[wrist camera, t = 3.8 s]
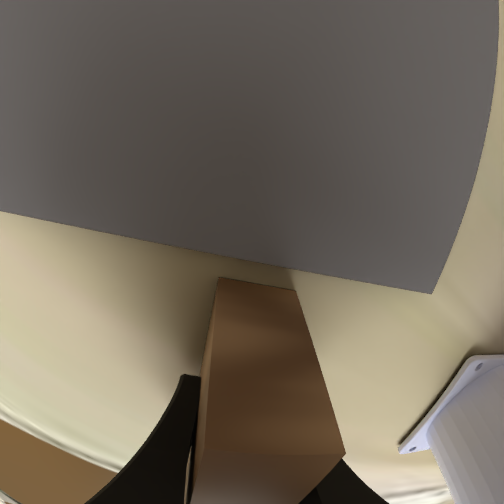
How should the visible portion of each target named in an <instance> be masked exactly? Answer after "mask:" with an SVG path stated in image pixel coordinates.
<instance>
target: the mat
mask: <svg viewBox="0 0 504 504" xmlns="http://www.w3.org/2000/svg"><path fill="white" fill-rule="evenodd" d="M498 33H499V1H498V0H0V211H3V212H7V213H12V214H17V215H22V216H27V217H31V218H36V219H41V220H46V221H51V222H56V223H60V224H65V225H70V226H75V227H80V228H85V229H90V230H95V231H100V232H105V233H110V234H115V235H120V236H125V237H130V238H135V239H140V240H145V241H150V242H155V243H160V244H165V245H170V246H175V247H180V248H186V249H191V250H196V251H201V252H206V253H211V254H217V255H222V256H227V257H232V258H237V259H243V260H248V261H253V262H258V263H264V264H269V265H274V266H280V267H285V268H290V269H296V270H301V271H306V272H312V273H317V274H322V275H328V276H333V277H339V278H344V279H350V280H355V281H361V282H366V283H372V284H377V285H383V286H388V287H394V288H399V289H405V290H411V291H416V292H422V293H427V294H432V292H433V290H434V288H435V286H436V284H437V282H438V279H439V277H440V275H441V272H442V270H443V268H444V265H445V263H446V261H447V258H448V256H449V253H450V251H451V248H452V246H453V243H454V241H455V238H456V235H457V233H458V230H459V227H460V224H461V222H462V219H463V216H464V213H465V210H466V207H467V204H468V201H469V197H470V194H471V191H472V188H473V184H474V181H475V177H476V174H477V170H478V166H479V162H480V158H481V154H482V150H483V146H484V141H485V137H486V132H487V127H488V122H489V116H490V111H491V105H492V98H493V91H494V84H495V75H496V65H497V53H498Z"/></svg>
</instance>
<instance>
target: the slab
mask: <svg viewBox="0 0 504 504" xmlns="http://www.w3.org/2000/svg"><path fill="white" fill-rule="evenodd" d="M200 377H201V389H200V401H199V406H198V411H197V417H196V422H195V427H194V433H193V438H192V444H191V448H190V453H189V458H188V463H187V471H186V483H185V497H184V504H298V503H299V502H300V501H302V500H303V499H304V498H305V497H306V496H307V495H308V494H309V493H310V492H311V491H312V490H313V489H314V488H315V487H316V486H317V485H318V484H319V483H320V482H321V480H322V479H323V478H324V477H325V476H326V475H327V474H328V473H329V472H330V471H331V470H332V469H333V468H334V466H335V465H336V464H337V463H338V462H339V461H340V460H341V459H342V457H343V456H344V455H345V454H346V452H345V448H344V445H343V441H342V438H341V435H340V431H339V428H338V424H337V421H336V417H335V414H334V411H333V407H332V404H331V401H330V397H329V394H328V391H327V388H326V384H325V381H324V378H323V374H322V371H321V368H320V365H319V362H318V358H317V355H316V352H315V349H314V346H313V343H312V339H311V336H310V333H309V330H308V327H307V324H306V321H305V318H304V314H303V311H302V308H301V305H300V302H299V299H298V296H297V293H296V291H294V290H288V289H282V288H276V287H270V286H265V285H259V284H254V283H248V282H243V281H237V280H232V279H226V278H221V277H219V279H218V284H217V289H216V294H215V299H214V304H213V309H212V314H211V319H210V324H209V329H208V334H207V339H206V345H205V350H204V355H203V361H202V366H201V371H200Z"/></svg>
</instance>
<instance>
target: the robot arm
mask: <svg viewBox="0 0 504 504" xmlns="http://www.w3.org/2000/svg"><path fill="white" fill-rule="evenodd" d="M200 389H201V377H198V376H192V375H187V374H184V375H181V377H180V380H179V383H178V386H177V388H176V391H175V393H174V395H173V397H172V399H171V401H170V403H169V405H168V407H167V409H166V410H165V412H164V414H163V415H162V417H161V419H160V420H159V422H158V424H157V425H156V427H155V428H154V430H153V431H152V432H151V434H150V435H149V437H148V438H147V440H146V441H145V442H144V444H143V445H142V446H141V448H140V449H139V450H138V451H137V453H136V454H135V455H134V456H133V457H132V459H131V460H130V461H129V462H128V463H127V464H126V465H125V466H124V468H123V469H122V470H121V471H120V472H119V473H118V474H117V475H116V476H115V477H114V478H113V479H112V480H111V481H110V482H109V483H108V484H107V485H106V486H105V487H103V488H102V489H101V490H100V491H99V492H98V493H97V494H96V495H94V496H93V497H92V498H91V499H90V500H89V501H87V502H86V503H85V504H184V497H185V483H186V471H187V463H188V458H189V453H190V448H191V444H192V438H193V433H194V427H195V422H196V417H197V411H198V406H199V401H200ZM427 449H431V451H432V453H433V455H434V457H435V459H436V461H437V464H438V466H439V468H440V470H441V473H442V475H443V477H444V479H445V482H446V484H447V486H448V488H449V491H450V493H451V495H452V498H453V500H454V503H455V504H504V355H474V356H471V357H470V358H468V359H467V360H466V361H465V363H464V364H463V366H462V367H461V369H460V370H459V372H458V373H457V375H456V376H455V378H454V379H453V380H452V382H451V383H450V385H449V386H448V387H447V389H446V390H445V392H444V393H443V394H442V396H441V397H440V398H439V400H438V401H437V402H436V404H435V405H434V406H433V407H432V409H431V410H430V411H429V412H428V414H427V415H426V416H425V417H424V419H423V420H422V421H421V422H420V423H419V424H418V426H417V427H416V428H415V429H414V430H413V431H412V433H411V434H410V435H409V436H408V437H407V438H406V439H405V440H404V442H403V443H402V444H401V445H400V446H399V447H398V451H399V453H400V454H406V453H412V452H417V451H422V450H427ZM298 504H389V503H387V502H386V501H385V500H384V499H382V498H381V497H380V496H379V495H378V494H376V493H375V492H374V491H373V490H372V489H371V488H369V487H368V486H367V485H366V484H365V483H364V482H363V481H362V480H361V479H360V478H359V477H358V476H357V475H356V474H355V473H354V472H353V471H352V470H351V468H350V467H349V466H348V465H347V464H346V463H345V462H344V460H343V459H341V460H340V461H339V462H338V463H337V464H336V465H335V466H334V468H333V469H332V470H331V471H330V472H329V473H328V474H327V475H326V476H325V477H324V478H323V479H322V480H321V482H320V483H319V484H318V485H317V486H316V487H315V488H314V489H313V490H312V491H311V492H310V493H309V494H308V495H307V496H306V497H305V498H304V499H303V500H302V501H300V502H299V503H298Z"/></svg>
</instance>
